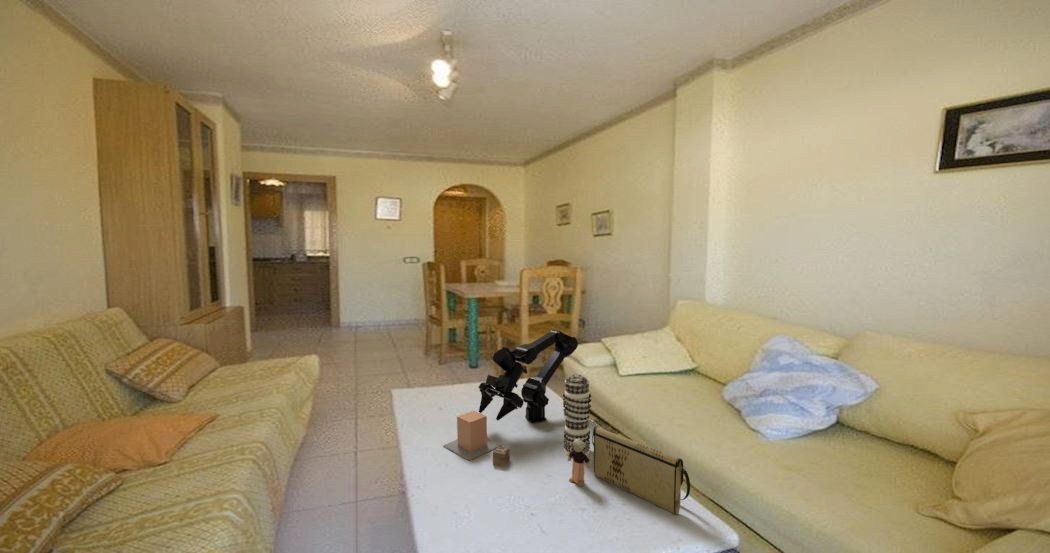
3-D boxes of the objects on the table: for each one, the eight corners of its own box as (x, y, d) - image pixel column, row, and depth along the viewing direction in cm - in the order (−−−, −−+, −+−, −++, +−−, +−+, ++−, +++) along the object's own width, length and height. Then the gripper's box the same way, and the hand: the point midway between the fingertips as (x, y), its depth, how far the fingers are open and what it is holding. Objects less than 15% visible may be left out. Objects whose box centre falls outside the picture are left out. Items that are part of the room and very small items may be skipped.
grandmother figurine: (563, 482, 126) (563, 439, 125) (568, 475, 130) (568, 434, 128) (589, 489, 123) (589, 445, 121) (593, 482, 126) (594, 439, 125)
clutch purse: (694, 509, 113) (696, 453, 112) (681, 521, 109) (682, 463, 107) (601, 466, 135) (601, 418, 134) (586, 474, 130) (586, 425, 129)
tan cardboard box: (473, 438, 153) (473, 410, 152) (487, 444, 148) (486, 416, 148) (457, 445, 148) (457, 416, 147) (470, 452, 143) (470, 422, 143)
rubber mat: (475, 433, 158) (475, 432, 158) (501, 445, 148) (501, 444, 148) (443, 446, 148) (443, 445, 148) (468, 461, 139) (468, 459, 138)
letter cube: (498, 458, 140) (497, 446, 140) (509, 460, 139) (509, 448, 139) (492, 464, 137) (492, 451, 136) (504, 466, 135) (504, 453, 135)
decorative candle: (590, 459, 139) (590, 382, 137) (561, 456, 141) (561, 380, 138) (591, 446, 148) (592, 373, 146) (564, 443, 150) (564, 371, 147)
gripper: (481, 360, 161) (458, 398, 155) (517, 371, 148) (493, 412, 141) (498, 376, 168) (476, 412, 161) (533, 387, 155) (511, 428, 148)
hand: (488, 416), depth 153 cm, fingers open, 9 cm apart
